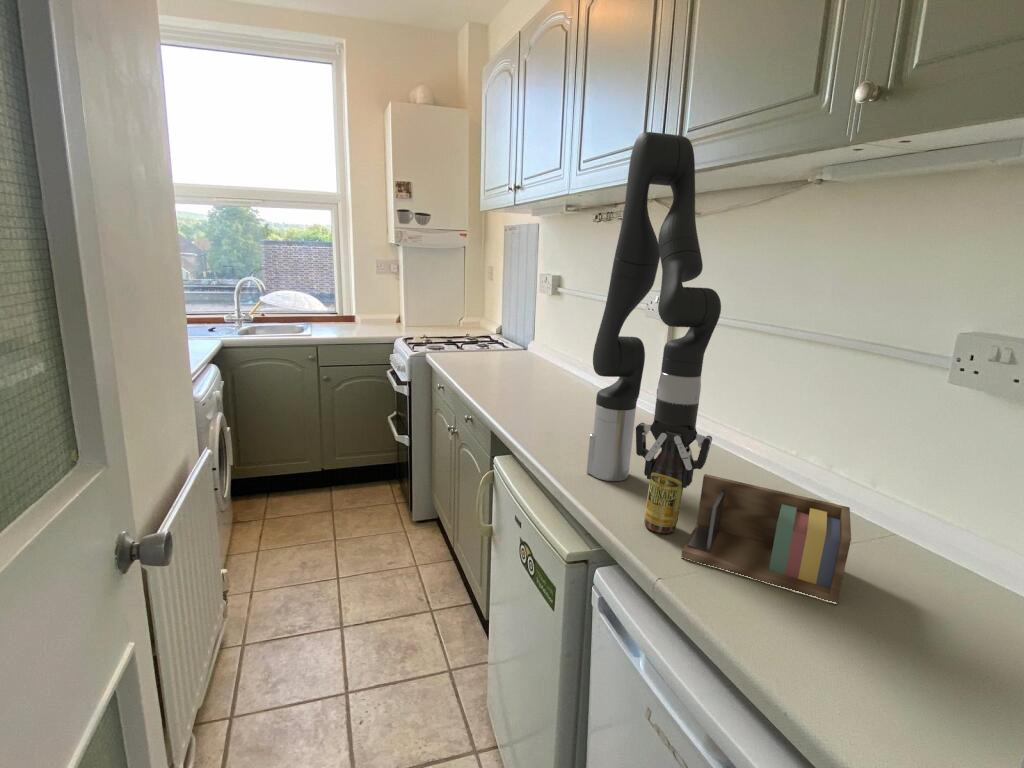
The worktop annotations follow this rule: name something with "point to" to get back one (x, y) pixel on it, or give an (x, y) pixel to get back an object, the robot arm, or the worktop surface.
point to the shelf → (761, 533)
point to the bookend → (707, 536)
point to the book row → (805, 545)
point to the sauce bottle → (665, 488)
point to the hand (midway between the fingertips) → (667, 482)
